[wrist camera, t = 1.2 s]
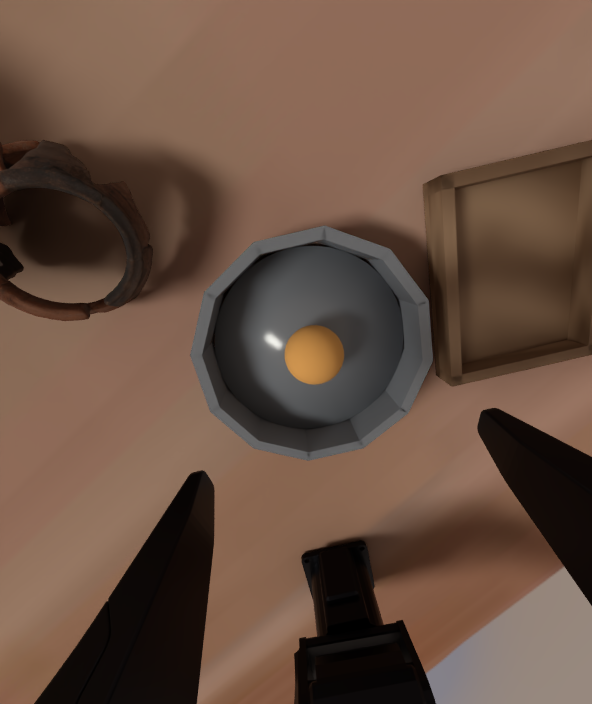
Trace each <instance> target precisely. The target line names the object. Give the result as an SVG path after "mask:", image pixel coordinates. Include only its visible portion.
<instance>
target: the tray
mask: <svg viewBox="0 0 592 704" xmlns="http://www.w3.org/2000/svg"><path fill="white" fill-rule="evenodd" d="M423 196H424V210H425V224H426V238H427V252H428V266H429V280H430V294H431V308H432V322H433V336H434V350H435V364H436V375H437V376H438V377H439V378H441V379H442V380H443V381H445V382H446V383H448V384H449V385H450V386H452V387H453V386H457V385H461V384H466V383H470V382H474V381H479V380H483V379H488V378H492V377H496V376H501V375H505V374H509V373H514V372H518V371H523V370H527V369H531V368H536V367H540V366H544V365H549V364H553V363H558V362H562V361H566V360H571V359H575V358H579V357H584V356H588V355H592V140H590V141H586V142H582V143H577V144H573V145H569V146H565V147H560V148H556V149H552V150H547V151H543V152H539V153H535V154H530V155H526V156H522V157H518V158H513V159H509V160H505V161H500V162H496V163H492V164H488V165H483V166H479V167H475V168H471V169H466V170H462V171H458V172H453V173H449V174H445V175H441V176H439V177H437V178H435V179H433V180H431V181H429V182H427V183H425V184H423Z"/></svg>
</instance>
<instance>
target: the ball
mask: <svg viewBox="0 0 592 704" xmlns="http://www.w3.org/2000/svg"><path fill="white" fill-rule="evenodd" d="M343 361H344V349H343V345H342V343H341V341H340V339H339V337H338V336H337V335H336V334H335V333H334V332H333V331H331V330H330V329H328V328H326V327H323V326H319V325H310V326H305V327H303V328H300V329H299V330H297V331H296V332H295V333H294V334H293V335H292V336H291V337H290V338H289V340H288V342H287V344H286V347H285V362H286V365H287V368H288V370H289V371H290V373H291V374H292V375H293V376H294V377H295V378H296V379H298V380H299V381H301V382H303V383H306V384H312V385H316V384H322V383H325V382H328V381H329V380H331V379H332V378H334V377H335V376H336V375H337V374H338V372H339V371H340V369H341V367H342V364H343Z"/></svg>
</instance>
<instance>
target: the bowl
mask: <svg viewBox="0 0 592 704" xmlns="http://www.w3.org/2000/svg"><path fill="white" fill-rule="evenodd" d="M316 242H317V243H320V244H322V245H325V246H328V247H322V246H303V245H307V244H312V243H316ZM299 246H301V247H299ZM294 247H295V248H294ZM281 250H283V251H281ZM277 251H280V252H277ZM273 252H276V253H274V254H272V255H270V256H268V257H266V258H264V259H262V260H261V261H259V262H258V263H256V264H254V263H255V262H256V261H257V260H258V259H259V258H260V257H261V256H262V255H264V254H269V253H273ZM356 256H357V257H356ZM358 257H360V258H363V259H366V260H367V261H368V262H369V264H370V265H371V266H372V267H373V268H372V267H371V266H370V265H369V264H367V263H366V262H364V261H363V260H361V259H359V258H358ZM253 264H254V265H253ZM252 265H253V266H252ZM251 266H252V267H251ZM250 267H251V268H250ZM234 283H235V284H234ZM233 284H234V285H233ZM232 285H233V286H232ZM231 286H232V288H231V289H230V291H229V292H228V294H227V295H226V297H225V300H224V302H223V304H222V301H223V297H224V293H225V292H226V291H227V290H228V289H229V288H230V287H231ZM394 295H395V296H394ZM395 297H396V298H397V300H396V298H395ZM310 325H319V326H323V327H326V328H328V329H330V330H331V331H333V332H334V333H335V334H336V335H337V336H338V337H339V339H340V341H341V343H342V345H343V349H344V361H343V364H342V367H341V369H340V371H339V372H338V374H337V375H336V376H335V377H334V378H332V379H331V380H329V381H328V382H325V383H322V384H316V385H312V384H306V383H303V382H301V381H299V380H298V379H296V378H295V377H294V376H293V375H292V374H291V373H290V371H289V370H288V368H287V365H286V362H285V347H286V344H287V342H288V340H289V338H290V337H291V336H292V335H293V334H294V333H295V332H296V331H297V330H299V329H300V328H303V327H305V326H310ZM214 335H215V346H214V343H213V339H214ZM190 355H191V359H192V362H193V365H194V367H195V370H196V373H197V376H198V378H199V381H200V384H201V387H202V390H203V392H204V395H205V398H206V401H207V404H208V406H209V409H210V412H211V413H212V414H214V415H215V416H216V417H217V418H218V419H219V420H221V421H222V422H223V423H224V424H225V425H227V426H228V427H229V428H230V429H231V430H232V431H234V432H235V433H236V434H237V435H238V436H240V437H241V438H242V439H243V440H244V441H246V442H247V443H248V444H249V445H250V446H251V447H253V448H254V449H258V450H263V451H267V452H272V453H276V454H281V455H285V456H290V457H294V458H299V459H303V460H307V461H308V460H314V459H318V458H322V457H327V456H331V455H336V454H340V453H344V452H349V451H353V450H357V449H362V448H364V447H366V446H367V445H368V444H369V443H371V442H372V441H373V440H375V439H376V438H377V437H378V436H380V435H381V434H382V433H383V432H385V431H386V430H387V429H389V428H390V427H391V426H392V425H394V424H395V423H396V422H398V421H399V420H400V419H401V418H403V417H404V416H405V415H407V414H408V413H409V410H410V408H411V406H412V404H413V402H414V400H415V398H416V396H417V394H418V392H419V389H420V387H421V385H422V383H423V381H424V379H425V377H426V375H427V373H428V370H429V368H430V366H431V364H432V362H433V353H432V340H431V326H430V313H429V301H428V299H427V297H426V296H425V295H424V293H423V292H422V291H421V289H420V288H419V287H418V285H417V284H416V283H415V281H414V280H413V279H412V277H411V276H410V275H409V273H408V272H407V271H406V269H405V268H404V267H403V265H402V264H401V263H400V261H399V260H398V259H397V257H396V256H395V255H394V253H393V252H392V251H391V249H389V248H386V247H383V246H381V245H378V244H375V243H372V242H369V241H367V240H364V239H361V238H358V237H355V236H353V235H350V234H347V233H344V232H341V231H338V230H336V229H333V228H330V227H327V226H321V227H317V228H312V229H308V230H304V231H299V232H295V233H291V234H287V235H282V236H278V237H274V238H269V239H265V240H261V241H257V242H253V243H252V244H251V245H250V246H249V247H248V248H247V249H246V250H245V251H244V252H243V253H242V254H241V255H240V256H239V257H238V258H237V259H236V260H235V261H234V262H233V263H232V265H231V266H230V267H229V268H228V269H227V270H226V271H225V272H224V273H223V274H222V275H221V276H220V277H219V278H218V279H217V280H216V281H215V282H214V283H213V284H212V285H211V286H210V287H209V288H208V289H207V290H206V291H205V292H204V295H203V300H202V304H201V309H200V313H199V318H198V322H197V327H196V331H195V336H194V340H193V345H192V350H191V354H190ZM228 387H229V388H228Z"/></svg>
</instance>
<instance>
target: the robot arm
mask: <svg viewBox="0 0 592 704" xmlns="http://www.w3.org/2000/svg"><path fill="white" fill-rule="evenodd" d="M477 428H478V433H479V435H480V437H481V439H482V441H483V442H484V444H485V446H486V448H487V450H488V451H489V453H490V455H491V457H492V459H493V460H494V462H495V464H496V466H497V468H498V469H499V471H500V473H501V475H502V476H503V478H504V480H505V481H506V483H507V484H508V486H509V487H510V489H511V490H512V492H513V493H514V495H515V496H516V497H517V499H518V500H519V502H520V503H521V505H522V506H523V507H524V509H525V510H526V512H527V513H528V515H529V516H530V518H531V519H532V520H533V522H534V523H535V525H536V526H537V528H538V529H539V531H540V532H541V533H542V535H543V536H544V538H545V539H546V541H547V542H548V543H549V545H550V546H551V548H552V549H553V551H554V552H555V554H556V555H557V556H558V558H559V559H560V561H561V562H562V564H563V565H564V567H565V568H566V569H567V571H568V572H569V574H570V575H571V576H572V578H573V579H574V581H575V582H576V584H577V585H578V587H579V588H580V590H581V591H582V592H583V594H584V595H585V597H586V598H587V600H588V601H589V603H590V604H591V605H592V457H591V456H589V455H587V454H585V453H583V452H581V451H579V450H577V449H575V448H573V447H572V446H570V445H568V444H566V443H564V442H562V441H560V440H558V439H556V438H554V437H552V436H550V435H548V434H546V433H544V432H542V431H541V430H539V429H537V428H535V427H533V426H531V425H529V424H527V423H525V422H523V421H521V420H519V419H517V418H515V417H513V416H511V415H510V414H508V413H506V412H504V411H502V410H500V409H497V408H491V409H486V410H483V411H482V412H481V414H480V418H479V422H478V427H477ZM213 547H214V485H213V483H212V481H211V480H210V478H209V477H208V475H207V474H206V472H205V471H203V470H202V471H197V472H193V473H191V474H190V475H189V476H188V478H187V479H186V481H185V482H184V484H183V485H182V487H181V489H180V490H179V492H178V493H177V495H176V496H175V498H174V499H173V501H172V502H171V504H170V505H169V507H168V508H167V510H166V511H165V513H164V514H163V516H162V517H161V519H160V521H159V522H158V524H157V525H156V527H155V528H154V530H153V531H152V533H151V534H150V536H149V537H148V539H147V540H146V542H145V543H144V545H143V546H142V548H141V550H140V551H139V553H138V554H137V556H136V557H135V559H134V560H133V562H132V563H131V565H130V566H129V568H128V569H127V571H126V572H125V574H124V575H123V577H122V578H121V580H120V582H119V583H118V585H117V586H116V588H115V589H114V591H113V592H112V594H111V595H110V597H109V599H108V601H107V602H106V603H105V604H104V606H103V607H102V609H101V610H100V612H99V613H98V615H97V616H96V618H95V619H94V621H93V622H92V624H91V625H90V627H89V628H88V630H87V631H86V633H85V634H84V636H83V637H82V639H81V640H80V642H79V643H78V644H77V646H76V647H75V649H74V650H73V651H72V653H71V654H70V656H69V657H68V658H67V660H66V661H65V663H64V664H63V665H62V667H61V668H60V669H59V671H58V672H57V674H56V675H55V676H54V678H53V679H52V680H51V682H50V683H49V684H48V686H47V687H46V688H45V690H44V691H43V692H42V694H41V695H40V696H39V698H38V699H37V701H36V702H35V703H34V704H197V696H198V687H199V677H200V668H201V659H202V650H203V640H204V631H205V622H206V612H207V603H208V594H209V584H210V575H211V566H212V556H213ZM301 559H302V565H303V568H304V571H305V575H306V578H307V581H308V585H309V588H310V591H311V595H312V598H313V602H314V611H315V620H316V630H317V637H312V638H306V637H303V638H299V645H300V648H299V650H298V651H297V652H296V653H295V654H294V658H295V700H294V704H436V703H435V699H434V696H433V693H432V690H431V688H430V684H429V682H428V679H427V677H426V674H425V671H424V669H423V667H422V664H421V662H420V660H419V657H418V655H417V653H416V650H415V648H414V646H413V643H412V641H411V639H410V636H409V634H408V631H407V629H406V627H405V624H404V622H403V620H399V621H396V623H391V624H385V625H384V624H383V621H382V618H381V614H380V611H379V607H378V604H377V601H376V597H375V594H374V590H373V589H374V580H373V575H372V570H371V565H370V560H369V555H368V550H367V546H366V543H365V542H364V541H359V542H354V543H350V544H346V545H341V546H337V547H332V548H328V549H323V550H319V551H314V552H310V553H306V554H303V555H302V557H301Z"/></svg>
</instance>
